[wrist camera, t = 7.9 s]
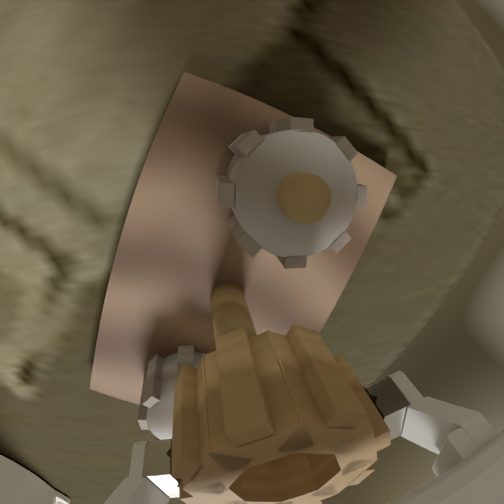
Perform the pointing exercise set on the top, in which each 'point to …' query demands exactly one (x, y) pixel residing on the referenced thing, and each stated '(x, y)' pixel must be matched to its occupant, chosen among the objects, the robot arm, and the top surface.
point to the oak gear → (272, 422)
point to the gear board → (228, 239)
